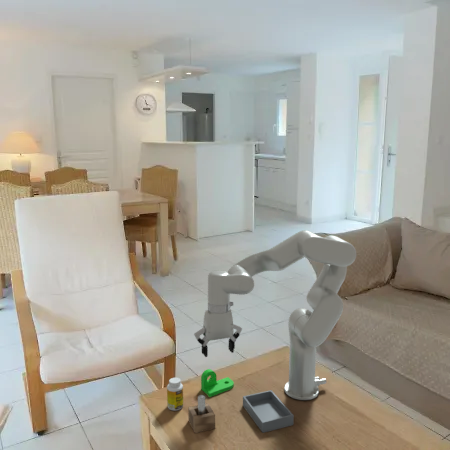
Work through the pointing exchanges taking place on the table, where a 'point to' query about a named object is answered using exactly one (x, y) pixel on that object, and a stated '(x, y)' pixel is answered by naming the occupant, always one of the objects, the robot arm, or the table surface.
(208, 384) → the mechanical part
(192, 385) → the table surface
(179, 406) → the supplement bottle
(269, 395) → the tray
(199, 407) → the pin gauge
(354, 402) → the table surface
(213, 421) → the bore block
